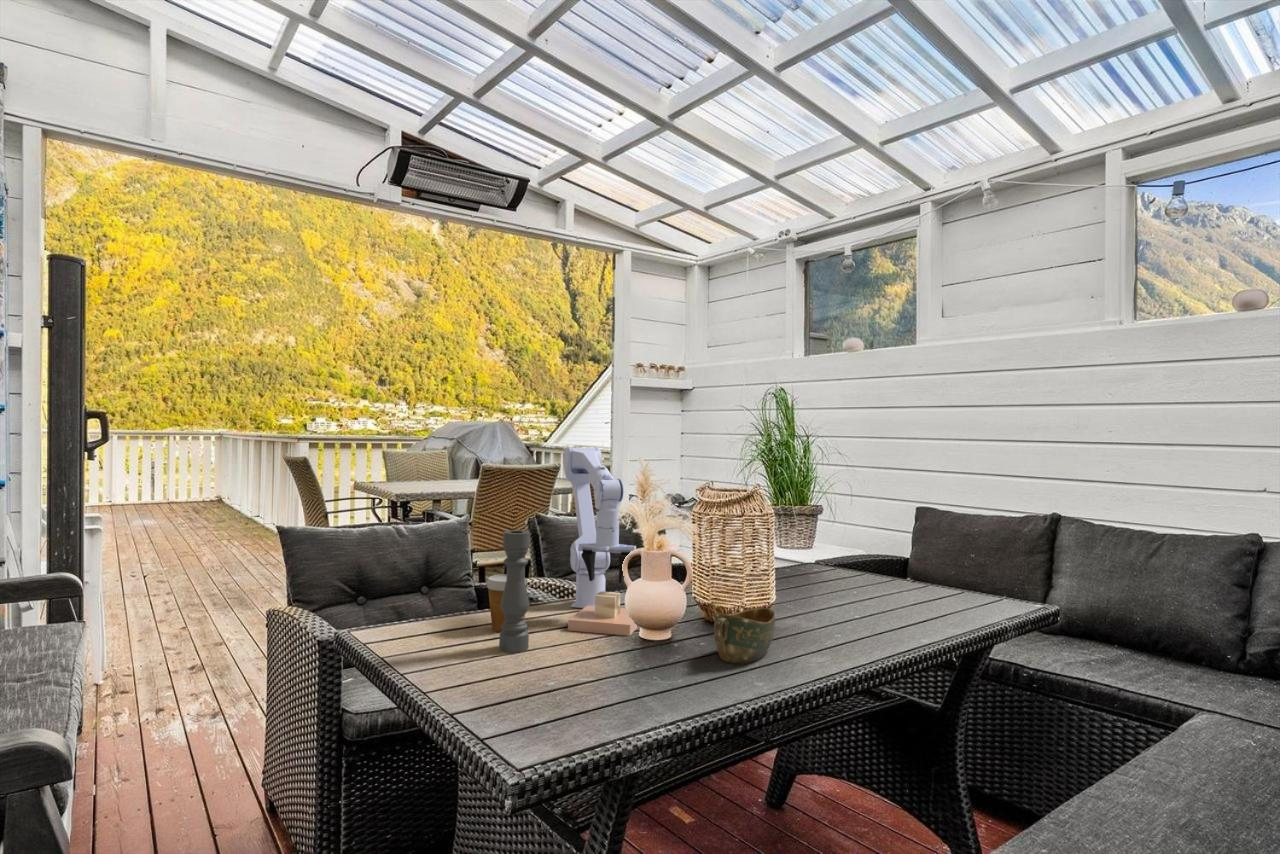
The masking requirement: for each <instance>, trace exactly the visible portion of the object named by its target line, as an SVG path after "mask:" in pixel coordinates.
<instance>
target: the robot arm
mask: <svg viewBox="0 0 1280 854" xmlns="http://www.w3.org/2000/svg"><path fill="white" fill-rule="evenodd" d="M602 458H603V457H602V451H601V449H600V448H599V447H597V446H596V447H571V446H567V447H566V448H565V449H564V453H563V461H562V462H563V471H564V475H565V479H566V480H567V481H569V482H570V483H571V486H572V492H573V500H574V507H575V513H576V515H575V516H576V523H577V524H576V525H577V530H578V538H577V539H576V540H574V541H573V542H572V543H571V546H570V557H569V559H570V560H569V561H570V567H571V569H572V570H573V572H575V573H576V576H575V577H576V581H575V583H576V584H575V585H576V586H575V588H576V589H575V602H573V603H572V604H571V605H570V607H571V608H578V609H583V608H584V607H586V606H587V605H589V606H595V595H597V594H598V593H599V592H601V591H602V592H606V576H605V574H606V571H607V570H609V568H610V564H611V553H612V554H619V555H618V570H619V571H618V584H623V582H624V581H625V576H623V571H622V564H623V561H624V559H625V557H626V556H627V555H628V554H629V553H630V552H631V551H633V550H636V551H637V545H629V544H623V543H619V542H620V541H619V540H620V539H619V537H620V521H619V522H617V517H618V513H619V514H620V503H621V502H622V500H623V499H624V484H623V481H622V479H621V478H614V477H613V475H612V474H611V472H610V471H609V469H608V468H607V467H606V466H605V465H603V464H602V460H603V459H602ZM590 486H592V488H593V498H594V507H595V509H596V521H595V515H594V507H593V499H592V493H591V487H590ZM632 558H633V556H632V557H631V559H632ZM631 559H630V560H629V563H628V565H629V564H630V562H631Z"/></svg>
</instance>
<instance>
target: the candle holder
mask: <svg viewBox="0 0 1280 854" xmlns="http://www.w3.org/2000/svg"><path fill="white" fill-rule="evenodd" d="M530 542H531V531H528V530H522V529H521V530H517V529H515V530H505V531H503V533H502V547H503V548H504V550H503V551H504V553H505V555H506V558H505V559H504V560H503V564H504V565H505V567H506V574H507V579H506V584H505V588H504V592H503V596H502V600H501V605H500V607H501V610H502V612H503V613H504V615H505V616H504V618H505V619H506V620H505V621H504V622H503V624H502V625H501V629H502V630H503V631H501V632H499V641H498V643H499V645H498V646H499V648H498V649H499V650H500V651H501V652H503V653H509V654H510V653H512V654H513V653H514V654H515V653H516V654H517V653H522V652H525V651H528V649H529V643H530V642H529V639H530V638H529V637H530V633H529V631H528V627H529V626H528V624H527V622H526V620H525V618H526V613H527V612H528V611H529V608H530V598H529V594H528V591H527V585H526V584H525V580H526V577H525V576H526V566H527V565H528V563H529V559H528V558H526V556H527V553H528V552H529V548H530V545H531V543H530Z"/></svg>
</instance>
